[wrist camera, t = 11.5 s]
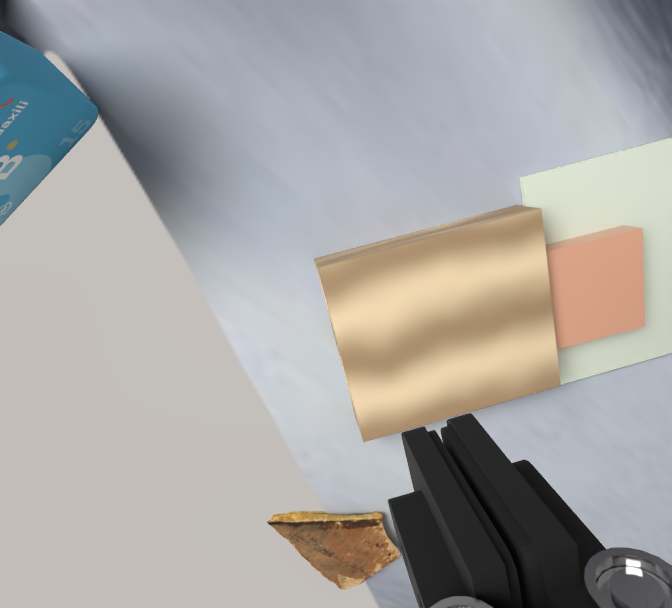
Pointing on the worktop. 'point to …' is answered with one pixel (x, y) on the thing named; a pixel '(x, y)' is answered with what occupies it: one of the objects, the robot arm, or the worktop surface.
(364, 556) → the shard
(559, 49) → the worktop surface
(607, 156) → the sage mat
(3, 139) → the data package
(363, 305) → the oak board
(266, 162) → the worktop surface
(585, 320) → the terracotta coaster
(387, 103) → the worktop surface
